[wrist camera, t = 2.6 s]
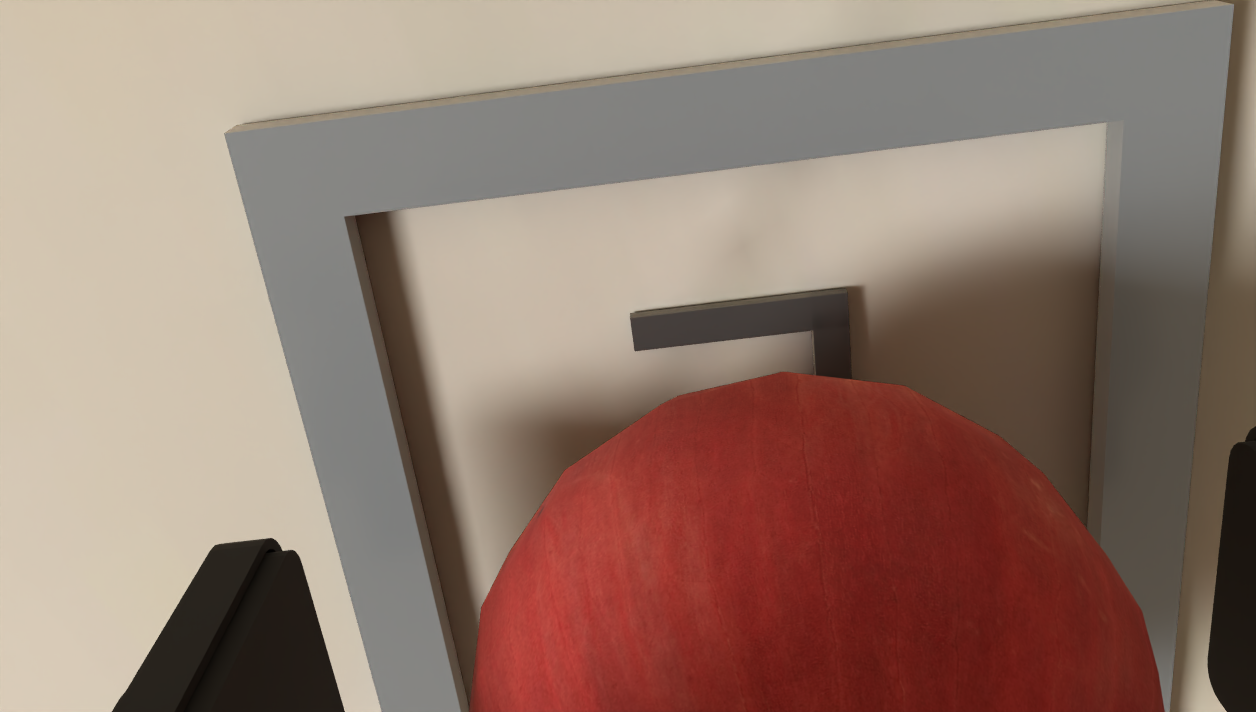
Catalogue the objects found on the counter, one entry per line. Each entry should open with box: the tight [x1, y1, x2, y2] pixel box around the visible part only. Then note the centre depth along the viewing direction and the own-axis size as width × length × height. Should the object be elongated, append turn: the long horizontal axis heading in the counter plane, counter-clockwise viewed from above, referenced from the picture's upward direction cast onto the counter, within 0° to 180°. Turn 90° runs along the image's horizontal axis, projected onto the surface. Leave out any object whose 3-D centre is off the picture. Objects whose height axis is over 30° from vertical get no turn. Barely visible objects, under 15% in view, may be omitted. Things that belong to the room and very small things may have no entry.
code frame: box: [224, 0, 1234, 712], centre depth 13 cm, size 10×10×1 cm
